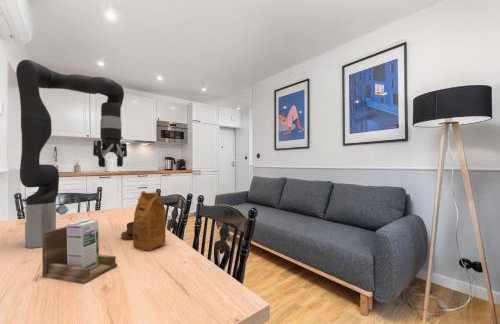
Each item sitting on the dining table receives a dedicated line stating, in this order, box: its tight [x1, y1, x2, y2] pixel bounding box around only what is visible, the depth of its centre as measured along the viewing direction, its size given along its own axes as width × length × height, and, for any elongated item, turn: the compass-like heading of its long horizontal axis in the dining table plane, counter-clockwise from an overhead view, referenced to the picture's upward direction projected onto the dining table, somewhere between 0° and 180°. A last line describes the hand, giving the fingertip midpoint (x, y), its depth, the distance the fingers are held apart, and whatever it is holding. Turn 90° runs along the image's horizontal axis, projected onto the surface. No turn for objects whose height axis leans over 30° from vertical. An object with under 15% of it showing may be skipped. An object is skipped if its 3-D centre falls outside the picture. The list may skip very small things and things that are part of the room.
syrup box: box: [66, 219, 100, 269], centre depth 70 cm, size 6×6×14 cm
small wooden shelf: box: [41, 226, 118, 285], centre depth 70 cm, size 16×11×13 cm
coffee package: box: [132, 190, 167, 251], centre depth 92 cm, size 10×12×22 cm
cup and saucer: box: [120, 221, 134, 240], centre depth 104 cm, size 12×12×6 cm
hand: (111, 166), depth 95 cm, fingers open, 8 cm apart
